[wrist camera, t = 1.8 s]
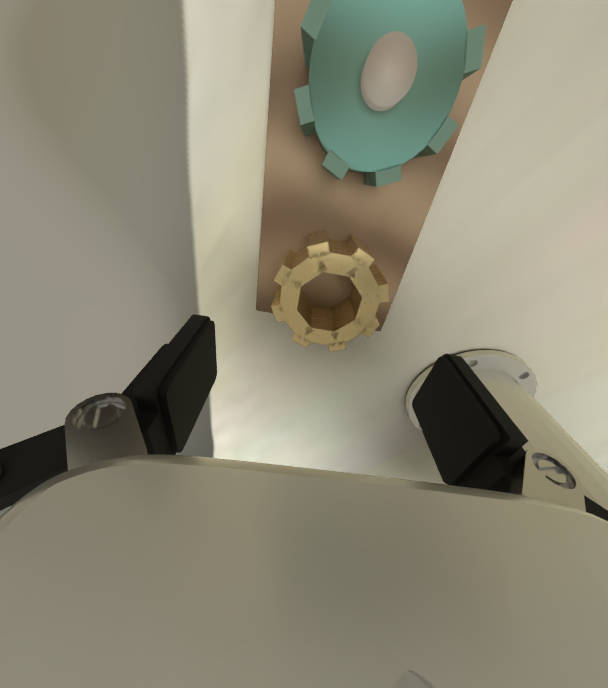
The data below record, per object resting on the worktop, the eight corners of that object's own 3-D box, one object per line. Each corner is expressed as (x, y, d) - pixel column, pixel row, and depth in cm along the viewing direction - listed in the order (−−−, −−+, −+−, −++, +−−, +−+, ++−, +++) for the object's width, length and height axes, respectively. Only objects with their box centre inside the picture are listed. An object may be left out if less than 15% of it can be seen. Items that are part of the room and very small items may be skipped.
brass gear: (359, 330, 22) (366, 357, 19) (275, 315, 22) (267, 341, 18) (389, 241, 18) (406, 256, 14) (286, 221, 17) (278, 232, 14)
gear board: (377, 323, 23) (394, 367, 18) (259, 302, 23) (240, 342, 17) (624, -326, 9) (1135, -1163, 3) (310, -428, 8) (292, -1658, 3)
